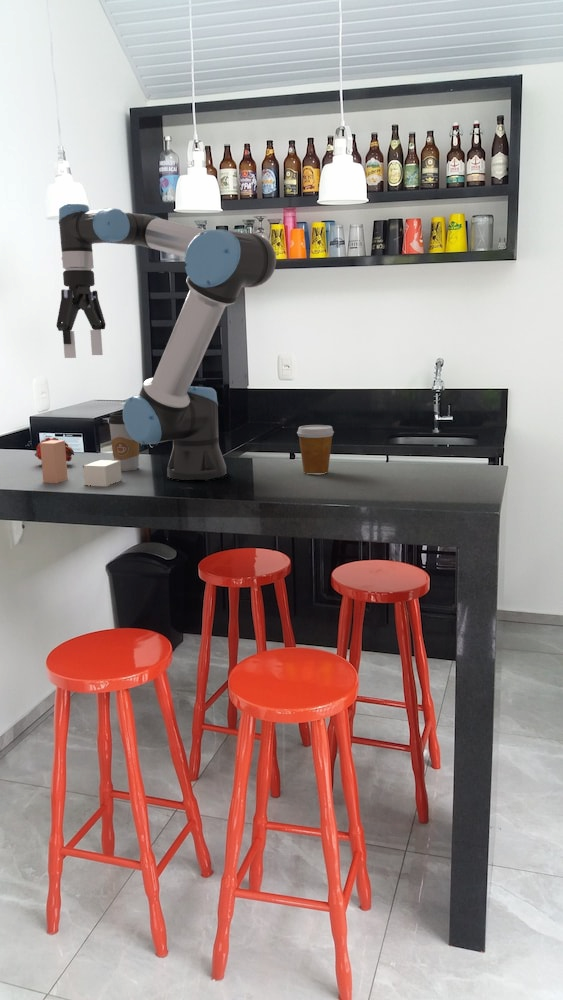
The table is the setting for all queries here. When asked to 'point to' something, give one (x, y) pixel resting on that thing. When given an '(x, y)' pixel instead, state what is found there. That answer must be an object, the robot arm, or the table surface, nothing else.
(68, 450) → the dragon fruit
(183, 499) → the table surface
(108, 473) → the cream white block
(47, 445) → the salmon orange rectangular block
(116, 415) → the coffee cup
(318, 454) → the disposable coffee cup
